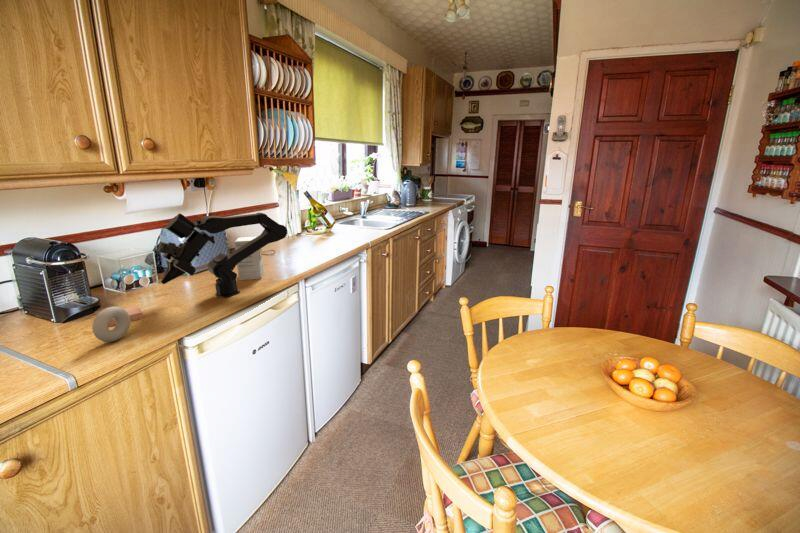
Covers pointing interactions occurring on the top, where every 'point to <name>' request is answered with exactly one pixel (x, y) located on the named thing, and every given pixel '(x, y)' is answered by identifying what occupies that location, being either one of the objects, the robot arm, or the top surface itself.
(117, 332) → the donut
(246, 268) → the supplement box
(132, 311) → the terracotta tile
